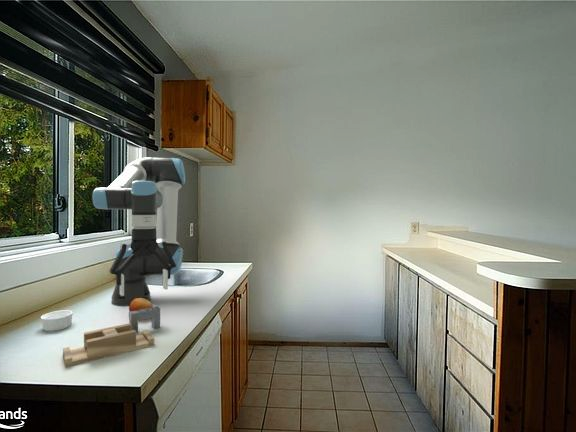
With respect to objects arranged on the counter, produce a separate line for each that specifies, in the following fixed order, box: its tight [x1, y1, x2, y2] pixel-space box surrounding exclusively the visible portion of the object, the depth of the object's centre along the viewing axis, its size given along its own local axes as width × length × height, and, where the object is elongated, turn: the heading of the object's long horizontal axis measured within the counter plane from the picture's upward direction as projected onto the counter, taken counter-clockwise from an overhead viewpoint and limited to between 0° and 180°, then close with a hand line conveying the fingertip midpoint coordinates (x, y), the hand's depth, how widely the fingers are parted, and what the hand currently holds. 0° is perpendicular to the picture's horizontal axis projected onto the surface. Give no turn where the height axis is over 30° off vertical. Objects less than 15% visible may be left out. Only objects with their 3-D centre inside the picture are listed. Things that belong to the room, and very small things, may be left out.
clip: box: [128, 306, 161, 334], centre depth 109 cm, size 3×9×6 cm, turn 128°
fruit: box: [128, 298, 154, 312], centre depth 120 cm, size 8×8×8 cm
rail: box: [62, 322, 155, 368], centre depth 94 cm, size 8×22×5 cm, turn 128°
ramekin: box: [40, 309, 73, 332], centre depth 111 cm, size 9×9×4 cm
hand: (144, 291), depth 108 cm, fingers open, 13 cm apart
